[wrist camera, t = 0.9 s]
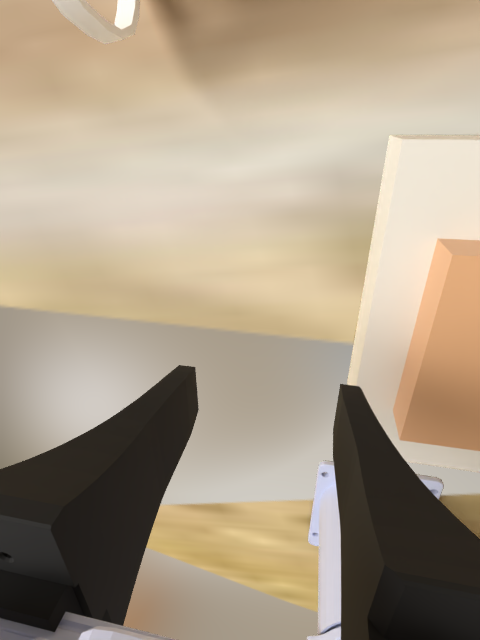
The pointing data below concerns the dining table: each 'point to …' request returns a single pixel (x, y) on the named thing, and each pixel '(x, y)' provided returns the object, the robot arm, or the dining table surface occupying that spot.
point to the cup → (101, 19)
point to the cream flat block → (412, 269)
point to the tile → (445, 354)
